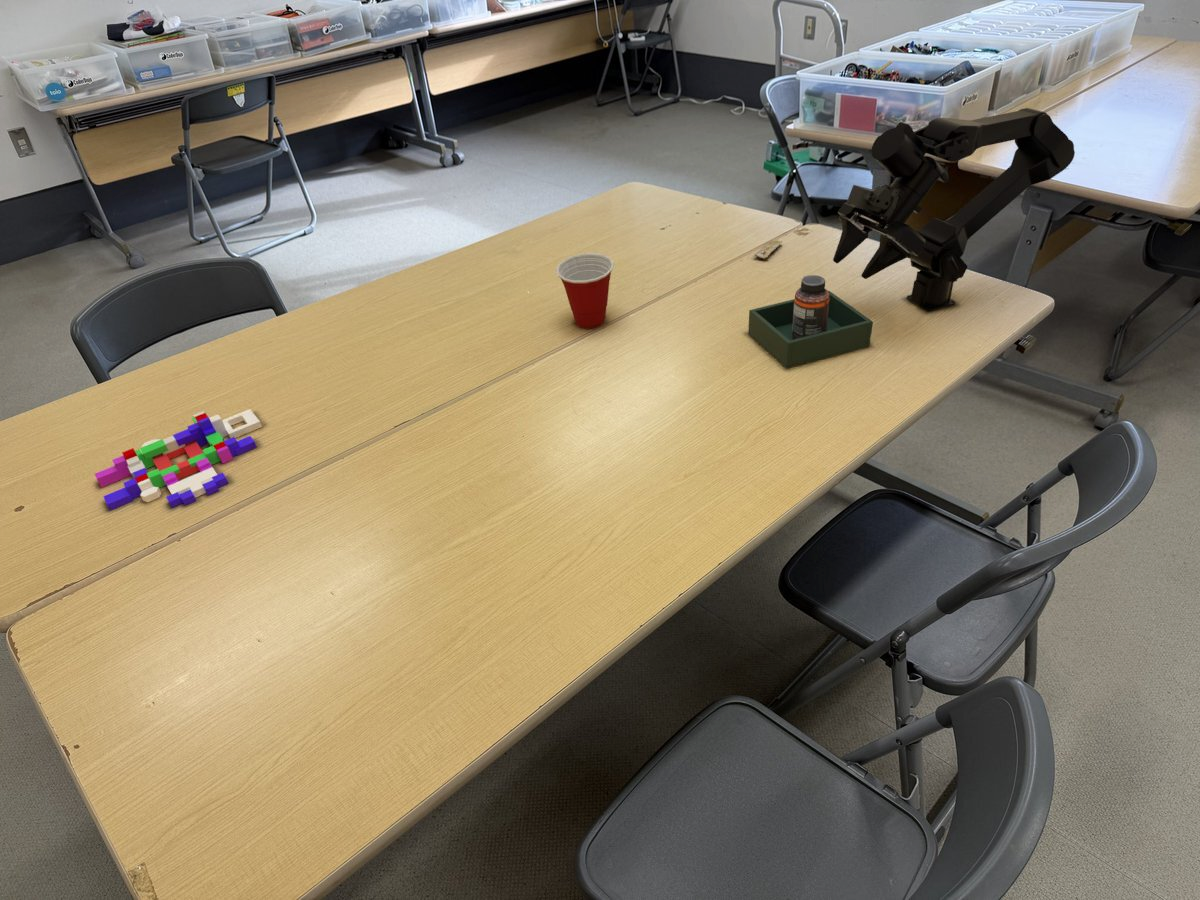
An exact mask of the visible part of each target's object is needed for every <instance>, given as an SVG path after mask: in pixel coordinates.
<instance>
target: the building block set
mask: <svg viewBox="0 0 1200 900" xmlns="http://www.w3.org/2000/svg"><path fill="white" fill-rule="evenodd" d="M191 418H192V422H193V423H192V424H190V425H188V426H186V428H187V429H185V430H182V431H179V432H176V433H174V434H172V435H170V436H168V437H166V438H164V439H163V438H162V439H158V438H157V439H156V438H154V439H152V440H149V441H146V442H144V443H143V444H142V445H141V446H140V448H138V449H136V450H135V449H134V448H133V447H132V448H130V449H128V450H125V451H122V452H121V453H122V455H121V456H118V457H116V458H113V459H112V463H113V465H112V466H110V467H108V468H105V469H102V470H100V471H98V472H96V473H94V476H95V478H96V479H95V480H97V482H98V483H99V485H100V487H101V488H103V487H107V486H109V485H111V484H113V483H116V482H118V481H121V480H123V479H125V478H128V477H131V476H132V479H129V480H127V481H123V483H122V484H123V486H124V487H123V488H120V489H118V490H115V491H112V492H111V493H107V494H105V495H103V496H102V497H103V499H104V502H105V503H106V506H107V507H108V510H109V511H113V510H115V509H117V508H119V507H121V506H124V505H127V504H128V503H131V502H134V499H136V498H139V497H140V498H141V499H142V501H143V502H145V503H150V502H152V501H154V500H157V499H159V498H160V497H161V496H162V491H161V489H160V488H162V487H164V486H166V487H167V489H168V490H169V492H170V494H169V495H167V496H165V498H166V499H167V501H168V503H169V505H170V507H171V509H173V508H176V507H178V506H180V505H184V506H187V505H191V504H193V503H195V502H197V499H196V498H198V497H200V496H203V495H205V494H206V495H207V496H210V495H212V494H215V493H218V492H219V491H220V489H219V488H221V487H223V486H226V485H227V484H229V481H228V479H227V477H226V475H225V474H224V472H221V473H217V471H216V470H215V468H214V467H213V465H215V464H217V463H220V462H221V463H222V464H226V463H228V462H230V461H232V460H234V457H235V456H241V455H242V454H244V453H247V452H249V451H251V450H253V449H256V448H258V447H257V443H256V442H255V440H254V439H253V437H252V435H248V436H246V437H244V438H241V439H239V440H237V439H236V438H238V437H241V436H243V435H246V434H248V433H251V432H253V431H255V430H258V429H261V428H262V427H263V426H262V423H261V421H260V419H258V417H257V416H256V415H255V414H254V412H253V411H252V410H251V409H250V408H249V409H246V410H244V411H242V412H239V413H237V414H234V415H231V416H230V417H227V418H224V419H222V417H221V416H220V414H215V415H213V416H211V417H209V416H208V415H207V413H206V412H205V410H202V411H199V412H196V413H194V414H193V415H192V417H191ZM242 422H244V423H245V424H243V425H240V426H238V427H236V428H233V427H232V426H234V425H237V424H239V423H242ZM227 436H228V437H229V438H228V439H224V438H225V437H227ZM205 445H209V447H206V448H204V449H202V448H201V447H203V446H205ZM183 454H186V455H187V457H188V459H186V460H183V461H181V462H178V463H176V464H174V465H173V463H172V462H171V459H174V458H176V457H179V456H181V455H183ZM154 466H155V467H156V469H153V470H150V471H148V470H147V469H149V468H151V467H154ZM197 472H198V473H197ZM190 475H191V476H190ZM183 478H184V479H183Z"/></svg>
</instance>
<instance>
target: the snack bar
mask: <svg viewBox="0 0 1200 900" xmlns="http://www.w3.org/2000/svg"><path fill="white" fill-rule="evenodd" d="M782 243H783V240H770V241H769V242H768V243H767V244H765V245H764V247H762V248H761V249H760V250H759V251H758V252H757V253H755V254H754V257H757V258H759V259H763V260H766V259H767V258H768V257H769V256H770V255H771V254H772V252H774V251H775V250H776V249H777V248H778V247H779V246H780V245H782Z"/></svg>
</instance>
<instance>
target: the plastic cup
mask: <svg viewBox="0 0 1200 900" xmlns="http://www.w3.org/2000/svg"><path fill="white" fill-rule="evenodd" d="M614 265H615V264H614V262H613V259H612V258H610V257H609V256H607V255H605V254H602V253H597V252H584V253H579V254H574V255H572V256H569V257H566V258H564V259H563V260H562V261H560V263H558V264H557V267H556V269H555V271H556V274H557V277H558V278H560V280H561V282H562V284H563V287H564V289H565V293H566V294H565V295H566V296H567V300H568V303H569V307H570V309H571V312H572V317H573V318H574V322H575V323H576V326H578V327H579V328H582V329H588V330H590V329H597V328H599V327H601V326H603V324H605V322H606V317H607V307H608V302H609V301H608V300H609V289H610V281H611V276H612V272H613V269H614Z"/></svg>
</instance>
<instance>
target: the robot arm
mask: <svg viewBox="0 0 1200 900" xmlns="http://www.w3.org/2000/svg"><path fill="white" fill-rule="evenodd" d="M1011 141H1014V144H1015V145H1016V147H1017V148H1016V150H1015V152H1014V154H1013V156H1012V161H1011V164H1010V166H1009V167H1008V168H1006V169H1005V170H1004V171H1003V172H1002V173H1001V174H999V175H998V176H997V177H996V178H995V179H994V180H993V181H991V182H990V183H989V184H988V185H987V186H985V187H984V188H983V189H982V190H981V191H979V193H978V194H976V195H975V196H974V197H973V198H972V199H971V200H970V201H968V202H967V203H966V204H965V205H963V207H962V208H961V209H959V210H958V211H957V212H956V213H955V214H953V215H952V216H951V217H950V218H948V219H946V220H941V219H939V218H937V217H933V218H931V219H930V220H929V221H927V222H926V224H924V226H923V227H921V228H920V229H918V230H916V229H914V228H913V227H912V226H911V225H909V224H907V223H906V222H907V221H908V220H909V218H910V217H911V215H913V213H916V214H920V212H921V211H922V210H923V208H922V207H921V206H920V203H921V202H922V201H923V200H924V198H925V197H926V196H927V194H928V193H929V192H930V191H931V189H932V188H933V186H934V185H935V184H936V182H937V181H939V182H941V183H944V184H947V183H948V181H949V174H948V173H949V172H948V168H949V166H948V165H947V164H945V163H943V162H942V163H941V162H937V161H936V160H935V159H934V158H933V157H936V158H939V159H941V160H945V161H947V162H950V163H955V162H958V161H960V160H963V159H965V158H968V157H970V156H973V154H974V153H975V152H976V151H977V149H979V148H982V147H988V146H992V145H996V144H1002V143H1007V142H1011ZM870 152H871V157H872V158H873V159H874V160H875V161H876V162H877V163H878V164H879V165H880V166H881V167H882V168H883V169H884V170H885V171H886V172H887V173H888V174H889V175H890V176H891V177H893V178H894V180H893V181H892V183H891V184H890V185H888V184H884V185H882V186H877V187H876V188H875V189H871V188H868V187H865V186H861V185H858V184H857V185H856V184H853V185H852V187H851V190H850V192H849V195H848V198H847V201H846V202H843V204H842V205H841V207H840V208H839V209H838V210H837V214H838V215H839V218H838V219H839V221H840V222H841V229H842V231H841V235H840V238H839V241H838V243H837V247H836V248H835V252H834V255H833V258H832V261H833V262H834V264H839V263H840V262H842V261H843V260H844V259H846V258H847V256H849V255H850V254H851V253H852V252H853V251H854V250H855V249H857V248H858V247H859V246H860V245H861V244H862V243H863V242H864V241H865V240H866V239H868V238H869V235H868V234H869V233H870V232H873V231H874V232H878V233H880V235H879V244H878V245H879V246H878V248H877V249H876V251H875V253H874V254H873V256H872V257H871V259H870V260H869V262H868V263H867V264H866V266H865V268H863V271H862V273H861V275H860V277H861V278H863V279H864V280H867V279H869V278H871V277H872V276H874V275H876V274H878V273H880V272H881V271H883V270H885V269H887V268H889V267H891V266H892V265H893V266H894V265H895V264H897V263H898V262H901V261H903V260H905V259H909V260H910V266H911V267H912V268H915V269H916V270H918V271H917V272H916V276H915V280H914V281H913V284H912V292H911V294H908V295H907V296H906V300H908V301H909V302H911V303H912V304H914V305H916V306H917V307H918V308H920V309H922V310H923V311H925V312H928V313H929V312H933V311H938V310H941V309H945V308H949V307H953V306H956V304H957V302H956V300H954V299H952V298H951V297H952V293H953V288H954V284H955V282H958V280H959V279H962V278H963V277H964V275H965V274H966V271H967V270H968V265H967V263H965V260H963V259H962V257H963V256H964V253H965V250H966V246H967V244H968V241H969V239H971V237H973V236H974V235H975V234H976V233H977V232H979V230H981V229H982V228H983V227H984V226H985V225H987V224H988V222H990V221H991V220H993V218H994V217H996V216H997V215H998V214H999V213H1000V212H1001V211H1003V210H1004V209H1005V208H1006V207H1007V206H1009V205H1010V204H1011V203H1012V202H1013V201H1014V200H1016V198H1017V197H1019V196H1020V195H1021V194H1022V193H1023V192H1025V191H1026V190H1027V189H1028V188H1029V187H1031V186H1032V185H1033V186H1034V185H1037V184H1040V183H1042V182H1046V181H1050V180H1051V179H1053V178H1054V177H1056V176H1057V175H1059V174H1060V173H1062V172H1063V171H1064V170H1066V169H1067V168H1068V167H1069V166H1070V164H1071V163H1072V162H1073V161H1074V159H1075V158H1074V157H1075V153H1076V151H1075V144H1074V141H1072V140H1071V139H1069V137H1068V135H1067V134H1066V133H1065V132H1064V131H1062V129H1061V128H1059V127H1058V126H1057V124H1055V123H1054V121H1053V119H1052V118H1051V116H1050V115H1049V114H1048V113H1047V112H1046V111H1041V110H1038V109H1034V108H1030V107H1025V108H1024V107H1023V108H1020V109H1019V110H1017V111H1016V110H1015V111H1010V112H1005V113H1001V114H995V115H991V116H986V117H980V118H976V119H962V118H961V119H960V118H955V117H954V118H952V117H936V118H933V119H932V120H930V121H929V122H928V124H927V125H925V126H923V127H921V128H919V129H917V130H915V131H914V130H913V127H912V126H911V125H910V124H909V123H906V122H903V121H899V122H898V123H897V124H896V126H895V127H893V128H889V129H887V130H885V131H884V132H883V133H881V135H878V136H877V137H876V138H875V140H874V141H873V143H872V146H871V150H870ZM926 154H928V155H930V156H928V155H926ZM932 156H933V157H932Z"/></svg>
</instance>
